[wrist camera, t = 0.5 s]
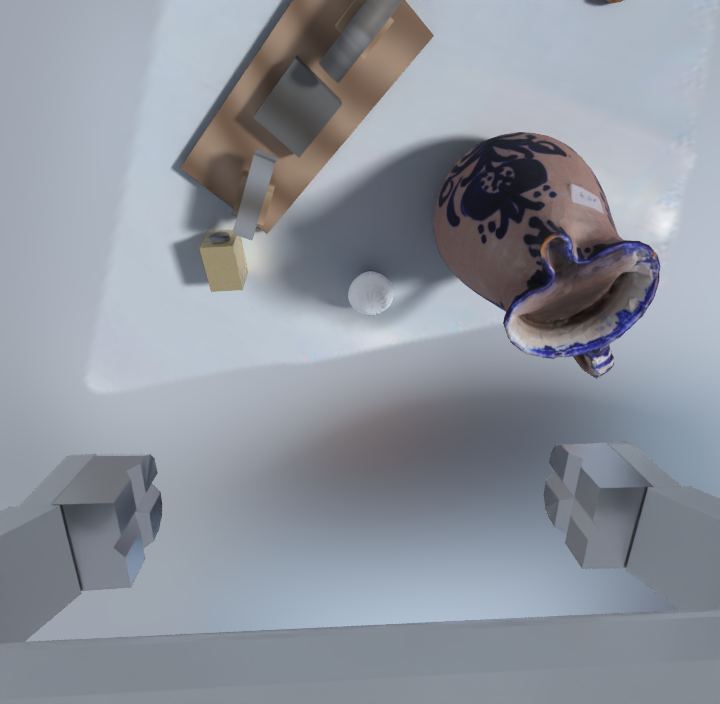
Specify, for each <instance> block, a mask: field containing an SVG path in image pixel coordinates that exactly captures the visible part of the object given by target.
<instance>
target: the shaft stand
mask: <svg viewBox="0 0 720 704" xmlns="http://www.w3.org/2000/svg"><path fill="white" fill-rule="evenodd" d="M433 36H434V35H433V34H432V33H431V32H430V30H429V29H428V28H427V27H426V26H425V24H424V23H423V22H422V21H421V19H420V18H419V17H418V16H417V14H416V13H415V12H414V11H413V9H412V8H411V7H410V6H409V5H408V3H407V2H406V1H405V0H293V1H292V2H291V4H290V5H289V7H288V8H287V10H286V11H285V13H284V14H283V16H282V17H281V19H280V20H279V22H278V23H277V25H276V26H275V27H274V29H273V30H272V32H271V33H270V35H269V36H268V38H267V39H266V41H265V42H264V44H263V45H262V47H261V48H260V50H259V51H258V53H257V54H256V56H255V57H254V59H253V60H252V62H251V63H250V65H249V66H248V68H247V69H246V71H245V72H244V74H243V75H242V77H241V78H240V80H239V81H238V83H237V84H236V86H235V87H234V89H233V90H232V91H231V93H230V94H229V96H228V97H227V99H226V100H225V102H224V103H223V105H222V106H221V108H220V109H219V111H218V112H217V114H216V115H215V117H214V118H213V120H212V121H211V123H210V124H209V126H208V127H207V129H206V130H205V132H204V133H203V135H202V136H201V138H200V139H199V141H198V142H197V144H196V145H195V147H194V148H193V150H192V151H191V152H190V154H189V155H188V157H187V158H186V160H185V161H184V163H183V164H182V166H181V167H180V168H181V169H182V170H183V171H185V172H186V173H187V174H189V175H190V176H191V177H193V178H194V179H195V180H197V181H198V182H199V183H201V184H202V185H203V186H204V187H206V188H207V189H208V190H210V191H211V192H212V193H214V194H215V195H216V196H218V197H219V198H220V199H222V200H223V201H224V202H226V203H227V204H228V205H229V206H231V207H232V208H233V213H232V215H235V216H237V219H236V223H235V227H234V230H233V234H235V235H238V236H241V237H244V238H247V239H249V240H252V239H253V236H254V233H255V229H256V226H257V227H258V228H260V229H261V230H262V231H264V232H265V233H266V234H267V233H268V232H269V231H270V230H271V228H272V227H273V226H274V225H275V224H276V223H277V221H278V220H279V219H280V218H281V217H282V215H283V214H284V213H285V212H286V211H287V209H288V208H289V207H290V206H291V205H292V204H293V202H294V201H295V200H296V199H297V198H298V196H299V195H300V194H301V193H302V192H303V190H304V189H305V188H306V187H307V186H308V184H309V183H310V182H311V181H312V180H313V179H314V177H315V176H316V175H317V174H318V173H319V171H320V170H321V169H322V168H323V167H324V165H325V164H326V163H327V162H328V161H329V160H330V158H331V157H332V156H333V155H334V154H335V152H336V151H337V150H338V149H339V148H340V146H341V145H342V144H343V143H344V142H345V141H346V139H347V138H348V137H349V136H350V135H351V133H352V132H353V131H354V130H355V129H356V127H357V126H358V125H359V124H360V123H361V122H362V120H363V119H364V118H365V117H366V116H367V114H368V113H369V112H370V111H371V110H372V108H373V107H374V106H375V105H376V104H377V103H378V101H379V100H380V99H381V98H382V97H383V95H384V94H385V93H386V92H387V91H388V89H389V88H390V87H391V86H392V85H393V84H394V82H395V81H396V80H397V79H398V78H399V76H400V75H401V74H402V73H403V72H404V70H405V69H406V68H407V67H408V66H409V65H410V63H411V62H412V61H413V60H414V59H415V57H416V56H417V55H418V54H419V53H420V51H421V50H422V49H423V48H424V47H425V45H426V44H427V43H428V42H429V41H430V40H431V38H432V37H433Z"/></svg>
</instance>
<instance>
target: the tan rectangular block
mask: <svg viewBox="0 0 720 704" xmlns="http://www.w3.org/2000/svg"><path fill="white" fill-rule="evenodd" d="M199 249H200V253H201V256H202V260H203V264H204V267H205V271H206V275H207V279H208V282H209V286H210V290H211V292H214V291H231V290H243V287H244V283H245V280H246V276H247V273H248V269H247V264H246V259H245V254H244V250H243V245H242V240H241V236H238V235H235V234H233V230H217V231H207V233H206V236H205V238H204V240H203V242H202V244H201V246H200V248H199Z"/></svg>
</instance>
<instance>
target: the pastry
mask: <svg viewBox="0 0 720 704" xmlns="http://www.w3.org/2000/svg"><path fill="white" fill-rule="evenodd" d="M606 1H607V2H609V3H616V2H621V1H623V0H606Z"/></svg>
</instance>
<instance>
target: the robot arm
mask: <svg viewBox="0 0 720 704" xmlns="http://www.w3.org/2000/svg"><path fill="white" fill-rule="evenodd" d="M549 464H550V466H551V467H552V469H553V470H554V472H553V473H552V475H551V476H550V477H549V478H548V479H547V480H546V481H545V488H544V502H545V509H546V511H547V514H548V517H549V519H550V520H551V522H552V524H553V525H554V527H556V528H557V529H559V530H561V531H562V532H564V533H565V534H567V536H566V541H565V544H566V545H567V547H568V548H569V550H570V551H571V552H572V554H573V556H574V557H575V559H576V560H577V561H578V563H579V565H580V566H581V568H582V569H591V568H592V569H598V568H626V571H627V572H629V573H630V574H632V575H633V576H634V577H636V578H637V579H639V580H640V581H641V582H643V583H644V584H645V585H647V586H648V587H650V588H651V589H652V590H654V591H655V592H657V593H658V594H659V595H661V596H662V597H663V598H665V599H666V600H668V601H669V602H670V603H672V604H673V605H674V606H676V607H677V608H679V609H680V610H676V611H675V610H674V611H653V612H633V613H612V614H593V615H571V616H551V617H550V616H549V617H530V618H529V617H528V618H507V619H487V620H466V621H446V622H426V623H407V624H387V625H366V626H344V627H324V628H303V629H282V630H261V631H243V632H242V631H241V632H219V633H199V634H179V635H158V636H136V637H115V638H95V639H76V640H75V639H74V640H53V641H34V642H33V641H32V642H25V641H26V640H27V639H28V638H29V637H30V636H32V635H33V634H34V633H35V632H36V631H38V630H39V629H40V628H41V627H42V626H44V625H45V624H46V623H47V622H48V621H49V620H51V619H52V618H53V617H54V616H55V615H57V614H58V613H59V612H60V611H61V610H62V609H64V608H65V607H66V606H67V605H68V604H70V603H71V602H72V601H73V600H74V599H75V598H77V597H78V596H79V595H80V594H81V591H87V590H102V589H116V588H129V587H132V585H133V583H134V581H135V579H136V576H137V575H138V573H139V570H140V569H141V567H142V564H143V562H144V560H145V554H144V550H143V548H145V547H146V546H148V545H149V544H150V543H152V542H153V541H154V540H155V537H156V535H157V533H158V531H159V527H160V522H161V518H162V498H161V492H160V491H159V490H158V489H157V488H156V487H155V486H154V485H153V484H152V481H153V480H154V478H155V477H156V475H157V468H156V463H155V459H154V457H153V456H151V454H99V455H97V454H81V455H70V456H67V457H66V458H65V459H64V460H63V461H62V462H61V463H60V464H59V465H58V466H57V467H56V468H55V469H54V470H53V471H52V472H51V473H50V474H49V475H48V476H47V477H46V478H45V479H44V481H43V482H42V483H41V484H40V485H39V486H38V487H37V488H36V489H35V490H34V491H33V492H32V493H31V494H30V495H29V496H28V497H27V498H26V499H25V500H24V501H23V502H22V504H21V505H20V506H16V507H8V508H6V509H4V510H2V511H0V704H720V498H717V497H715V496H712V495H710V494H708V493H705V492H703V491H700V490H698V489H695V488H693V487H690V486H681V485H679V483H677V482H676V481H675V480H674V479H673V478H672V477H670V476H669V475H668V474H667V473H666V472H664V471H663V470H662V469H661V468H660V467H659V466H658V465H656V464H655V463H654V462H653V461H652V460H651V459H649V458H648V457H647V456H646V455H645V454H643V453H642V452H641V451H640V450H639V449H638V448H637V447H635V446H634V445H633V444H631V443H628V442H625V441H624V442H606V443H589V444H569V445H555V446H554V447H553V449H552V451H551V453H550V458H549Z"/></svg>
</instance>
